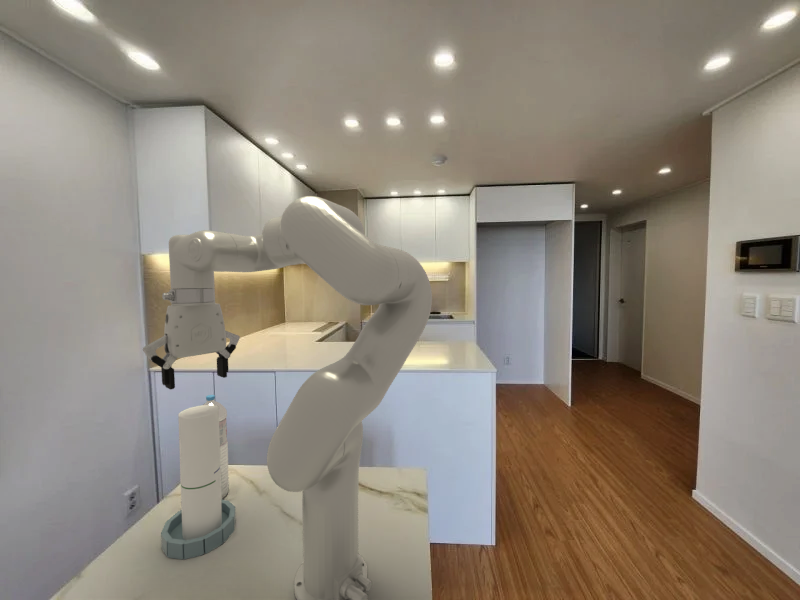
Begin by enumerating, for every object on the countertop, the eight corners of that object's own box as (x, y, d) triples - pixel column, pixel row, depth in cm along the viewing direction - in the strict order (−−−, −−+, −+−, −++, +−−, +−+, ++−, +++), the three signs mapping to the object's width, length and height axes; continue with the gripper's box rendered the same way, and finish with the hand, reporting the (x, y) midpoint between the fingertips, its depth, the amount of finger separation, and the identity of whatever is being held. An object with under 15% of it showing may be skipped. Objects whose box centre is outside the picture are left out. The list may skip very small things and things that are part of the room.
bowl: (246, 530, 72) (246, 516, 71) (176, 570, 62) (175, 555, 61) (219, 504, 80) (219, 492, 80) (153, 536, 70) (153, 522, 70)
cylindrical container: (228, 517, 74) (226, 405, 72) (207, 542, 67) (203, 419, 65) (198, 515, 75) (194, 404, 73) (173, 540, 67) (169, 417, 66)
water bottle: (200, 490, 85) (197, 393, 84) (230, 484, 87) (227, 389, 86) (194, 507, 79) (190, 402, 77) (227, 501, 81) (224, 398, 80)
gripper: (147, 300, 59) (152, 397, 60) (245, 296, 72) (248, 375, 73) (135, 299, 63) (139, 389, 64) (229, 295, 77) (232, 370, 78)
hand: (197, 381), depth 69 cm, fingers open, 9 cm apart
